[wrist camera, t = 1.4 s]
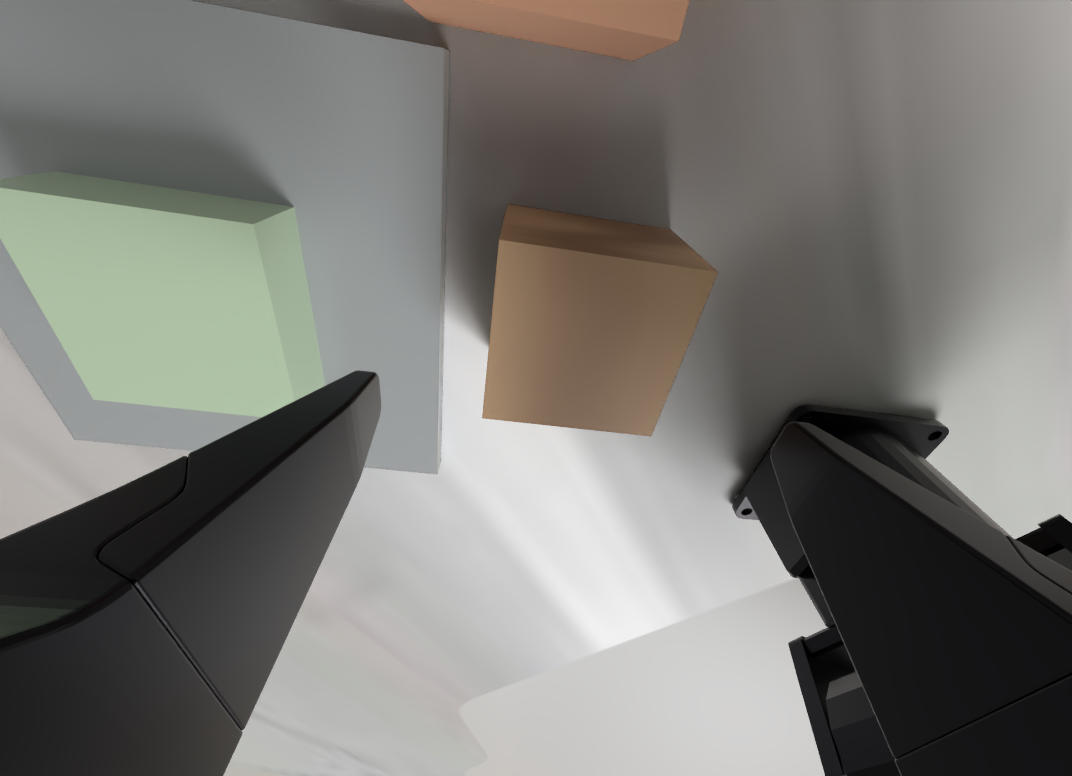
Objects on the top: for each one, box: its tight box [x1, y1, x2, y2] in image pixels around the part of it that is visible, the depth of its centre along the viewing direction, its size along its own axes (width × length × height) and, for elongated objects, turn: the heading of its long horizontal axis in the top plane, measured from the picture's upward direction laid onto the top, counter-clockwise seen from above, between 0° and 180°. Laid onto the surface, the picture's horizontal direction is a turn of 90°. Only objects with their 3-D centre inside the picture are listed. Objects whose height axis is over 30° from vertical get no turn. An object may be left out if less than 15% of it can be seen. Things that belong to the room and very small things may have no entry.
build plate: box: [0, 0, 450, 474], centre depth 12 cm, size 14×14×3 cm
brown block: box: [482, 204, 718, 436], centre depth 12 cm, size 5×5×4 cm
